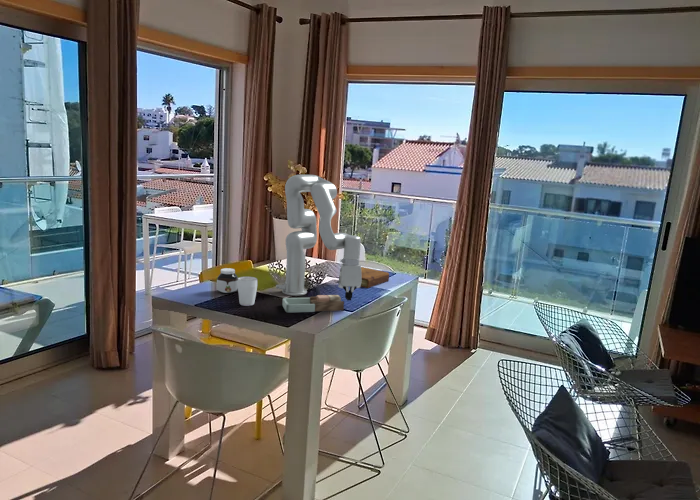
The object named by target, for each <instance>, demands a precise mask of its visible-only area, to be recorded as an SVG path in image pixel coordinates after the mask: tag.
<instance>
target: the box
mask: <svg viewBox="0 0 700 500" xmlns="http://www.w3.org/2000/svg"><path fill="white" fill-rule="evenodd" d="M281 305H282V307H283V309H284V311H285V312H286V313H315V312H316V311H315V304H310V297H283V298H282V304H281Z"/></svg>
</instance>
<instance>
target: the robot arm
mask: <svg viewBox="0 0 700 500" xmlns="http://www.w3.org/2000/svg"><path fill="white" fill-rule="evenodd" d="M284 192H285V200H286V216H287V224H288V226H289V227H290V228H291V229H301V230H297V231H291V232H289V233H288V234H287V236H286V237H285V251H286V268H285V282H283V284H275V288H276V289H279V290H281V291H282V293H283V294H284V295H288V296H296V297H297V296H304V295H306V294H307V293H308V291H307V289H306V288H305V277H306V276H305V275H306V255H305V254H306V253H304V250H308V249H312V248H314V247H315V246H316V245H317V242H318V232H319V235H320V237H321V241H322V243H323V244H324V246H325V248H327V250H329V251H335V250H336V251H337V250H342V249H343V257H342V258H341V259H340V260H339V261H340V263H341V266H340V270H339V275H338V285H337V287H338V288H339V289H343V290H344V291H345V292H344V293H345V294H344V295H345V296H344V298H345V299H346V300H347V301H352V299H353V293H354V292H355V291H356V289H360V288H362V287H361V286H360V285H361V267H362V265H361V264H360V258H361V257H360V256H361V246H362V245H361V241H362V240H361V237H360V236H358V235H351V234H349V233H346V232H336V233H334V231H333V228H332V225H331V224H332V219H333V217H334V216H335V215H336V214H337V207H336V206H335V203H334V199H336V197H337V195H338V189H337V187H336V185H335V184H334V183H333V182H331V181H329V180H327V179H325V178H323V177H321V176H319V175H315V174H295V175H292V176H290V177H289V178H288V179H287V180H286V183H285V186H284ZM308 192H309V193H310V195H311V197H312V200H313V203H314V205H315V208H316V209H317V212H318V215H319V222H318V223H319V224H318V227H317V216H316V214H315V213H314V211H313V210H312V209H310V208H305V202H304V198H303V196H302V194H301V193H308ZM317 228H318V230H317ZM317 231H318V232H317Z"/></svg>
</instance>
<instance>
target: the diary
mask: <svg viewBox="0 0 700 500" xmlns="http://www.w3.org/2000/svg"><path fill="white" fill-rule="evenodd" d="M389 281H390V273H389V272H388V271H387V272H386V271H383V270H377V269H373V268H367V267H363V266H361V285H360V286H361V287H360V288H365V289H369V288H372V287H375V286H379V285H381V284H384V283H386V282H389Z"/></svg>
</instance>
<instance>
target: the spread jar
mask: <svg viewBox="0 0 700 500" xmlns="http://www.w3.org/2000/svg"><path fill="white" fill-rule="evenodd" d="M238 278H239V277H238V275H237V274H236V270H235V268H232V267H231V268H230V267H229V268H227V267H225V268H221V269H220V274H218V276H217V278H216V289H217V292H218V293H220V294H221V295H226V294H229V295H234V294H235V293H236V292H238Z"/></svg>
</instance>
